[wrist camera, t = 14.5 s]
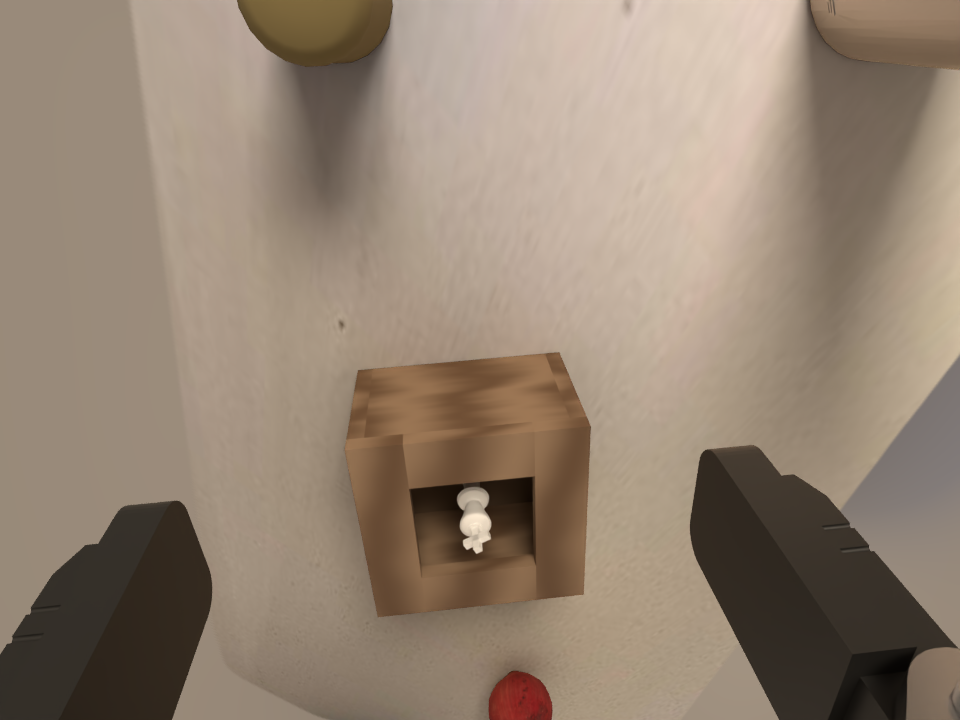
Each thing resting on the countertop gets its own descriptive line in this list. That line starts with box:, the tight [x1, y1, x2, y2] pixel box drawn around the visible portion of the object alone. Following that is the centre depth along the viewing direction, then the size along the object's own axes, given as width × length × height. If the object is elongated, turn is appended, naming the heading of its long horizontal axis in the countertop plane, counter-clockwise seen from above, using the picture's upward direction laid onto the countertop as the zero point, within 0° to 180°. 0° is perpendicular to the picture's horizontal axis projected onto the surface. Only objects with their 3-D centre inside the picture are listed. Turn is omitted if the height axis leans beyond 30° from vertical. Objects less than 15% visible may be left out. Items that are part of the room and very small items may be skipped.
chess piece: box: [457, 482, 491, 554], centre depth 41 cm, size 5×5×10 cm
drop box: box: [345, 352, 591, 617], centre depth 42 cm, size 14×14×9 cm
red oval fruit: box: [489, 671, 552, 720], centre depth 57 cm, size 6×6×8 cm
